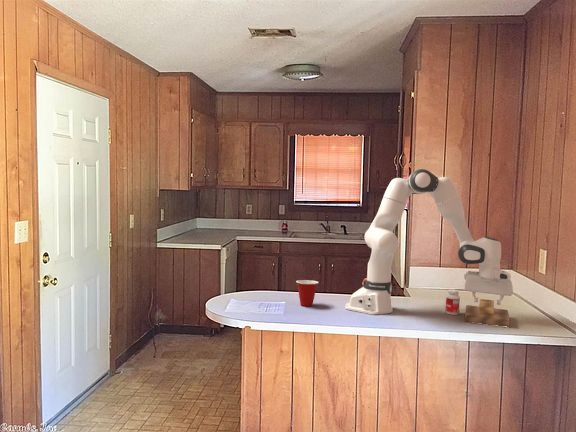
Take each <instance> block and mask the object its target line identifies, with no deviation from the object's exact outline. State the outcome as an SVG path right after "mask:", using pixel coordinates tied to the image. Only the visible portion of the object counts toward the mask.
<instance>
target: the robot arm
mask: <svg viewBox="0 0 576 432" xmlns="http://www.w3.org/2000/svg"><path fill="white" fill-rule="evenodd" d="M426 193H428V194H429V195H431V197H432V198H433V199H434V203H435V205H436V208H437V210H438V211H439V214H440V215H441V216H442V218H443V219H445V221H446V222H448V223H449V224H450V225H451V227H452V228H453V230H454V233H455V234H456V237H457V240H458V244H459V249H458V251H457V257H458V259H459V261H460V262H462V263H463V264H466V265H476V264H478V271H471V270H468V271H466V272H465V273H464V276H463V277H464V280H465V282H464V288H463V289H464V291H465V292H469V293H472V297H473V298H474V299H473V300H474V303H478V302H479V297H477V296H476V293H480V294H487V295H498V296H499V297H500V298H499V299H497V300H496V305H498V306H500V305H501V301H503V299H504V296H508V297H511V296H512V295H513V293H514V291H513V290H514V289H513V281H512V280H511V277H512V276H511V274H510V272H508V271H505V270H502V269H501V258H502V243H501V241H500V240H499V239H498V238H495V237H491V236H485V235H484V236H482V237H481V238H479V239H474V237H473V236H472V233H471V231H470V229H469V228H470V227H469V226H468V223H467V222H466V216H465V211H464V210H465V209H464V205H463V202H462V199H461V196H460V194H459V191H458V189H457V188H456V186H455V184H454V183H453V181H452V180H451V178H450V177H447V176H440V177H438V176H436V175H435V174H433V172H431V171H429V170H428V169H426V168H419V169H416V170H414V171H413V172H412V173H411V174H409V176H408V177H407V178H402V177H395V178H393V179H391V181H390V182H389V184H388V186H387V188H386V190H385V191H384V193H383V197H382V200H381V203H380V206H379V208H378V211H377V213H376V215H375V216H374V219H373V221H372V222H371V224H370V226H369V228H368V229H367V230H366V231H365V233H364V241H365V244H366V245H367V247H368V248H370V249H371V253H370V257H369V259H368V263H367V272H366V273H367V275H366V278H363V280H362V284H361V285H362V287H360V288H359V289H358V290H356V291H355V292H353V293H352V294H351V296H350V299H349V302H347V303H345V305H344V309H345V310H348V311H353V312H358V313H363V314H367V315H368V314H369V315H382V314H384V315H385V314H389V313H392V312H394V309H393V305H392V299H391V297H392V296H391V293H392V290H393V289H392V287H393V285H392V280H391V279H392V265H393V261H394V256H395V252H396V250H397V249H398V246H399V239H398V237H397V236H396V234H395V233H394V232H393V231H394V230H395V228H396V226H397V225H398V224H399V222H401V220H402V217H403V214H404V211H405V209H406V205H407V203H408V200H409V198H410V196H411V195H422V194H426Z"/></svg>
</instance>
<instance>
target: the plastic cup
mask: <svg viewBox="0 0 576 432" xmlns="http://www.w3.org/2000/svg"><path fill="white" fill-rule="evenodd" d="M295 282H296V284H297V290H298V297H299V303H300V304H299V305H300V306H301V307H307V308H308V307H313V304H314V299H315V296H316V291H317V287H318V284H319V281H316V280H312V279H311V280H308V279H306V280H305V279H302V280H301V279H300V280H298V279H297V280H296V281H295Z"/></svg>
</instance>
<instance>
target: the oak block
mask: <svg viewBox="0 0 576 432" xmlns="http://www.w3.org/2000/svg"><path fill="white" fill-rule="evenodd" d="M478 302H479V304H478V306H479V313H486V314H493V312H494V308H495V300H493V299H492V300H491V299H484V298H479V301H478Z"/></svg>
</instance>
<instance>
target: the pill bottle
mask: <svg viewBox="0 0 576 432" xmlns="http://www.w3.org/2000/svg"><path fill="white" fill-rule="evenodd" d="M459 291H460V290H458V289H453V288H452V289H451V288H449V289H448V290H447V294H446V296H445V307H444V308H445V310H444V311H445V312H444V313H445V314H447V315H449V314H450V316H458V315H460V303H461V301H460V299H461V297H460V295H459V294H460V293H459Z"/></svg>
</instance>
